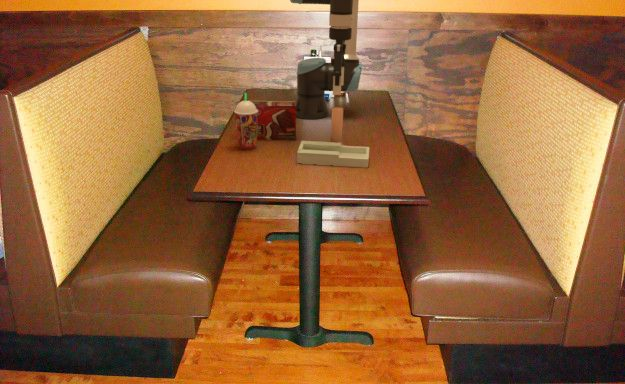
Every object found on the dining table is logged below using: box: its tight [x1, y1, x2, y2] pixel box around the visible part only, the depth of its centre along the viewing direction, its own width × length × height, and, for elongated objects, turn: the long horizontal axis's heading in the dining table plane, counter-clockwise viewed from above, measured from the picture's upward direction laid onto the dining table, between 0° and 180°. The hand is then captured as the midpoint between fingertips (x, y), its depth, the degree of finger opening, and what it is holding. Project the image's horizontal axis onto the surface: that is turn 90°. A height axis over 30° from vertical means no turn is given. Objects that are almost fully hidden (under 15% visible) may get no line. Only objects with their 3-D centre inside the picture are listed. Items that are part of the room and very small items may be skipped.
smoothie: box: [233, 92, 258, 151], centre depth 207 cm, size 8×8×20 cm
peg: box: [330, 106, 346, 146], centre depth 209 cm, size 6×6×15 cm
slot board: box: [296, 140, 370, 169], centre depth 201 cm, size 12×24×4 cm, turn 84°
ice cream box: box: [250, 100, 297, 141], centre depth 219 cm, size 20×6×13 cm, turn 92°
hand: (338, 89), depth 203 cm, fingers open, 13 cm apart
